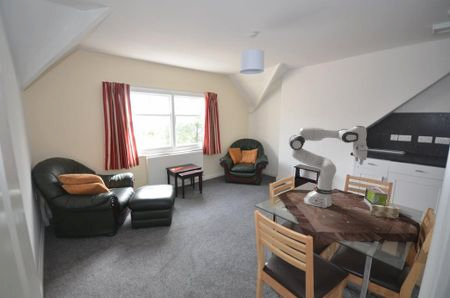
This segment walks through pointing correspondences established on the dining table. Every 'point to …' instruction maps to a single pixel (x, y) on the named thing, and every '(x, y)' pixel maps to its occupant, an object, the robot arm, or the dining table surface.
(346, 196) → the dining table surface
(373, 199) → the tea box
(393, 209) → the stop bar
